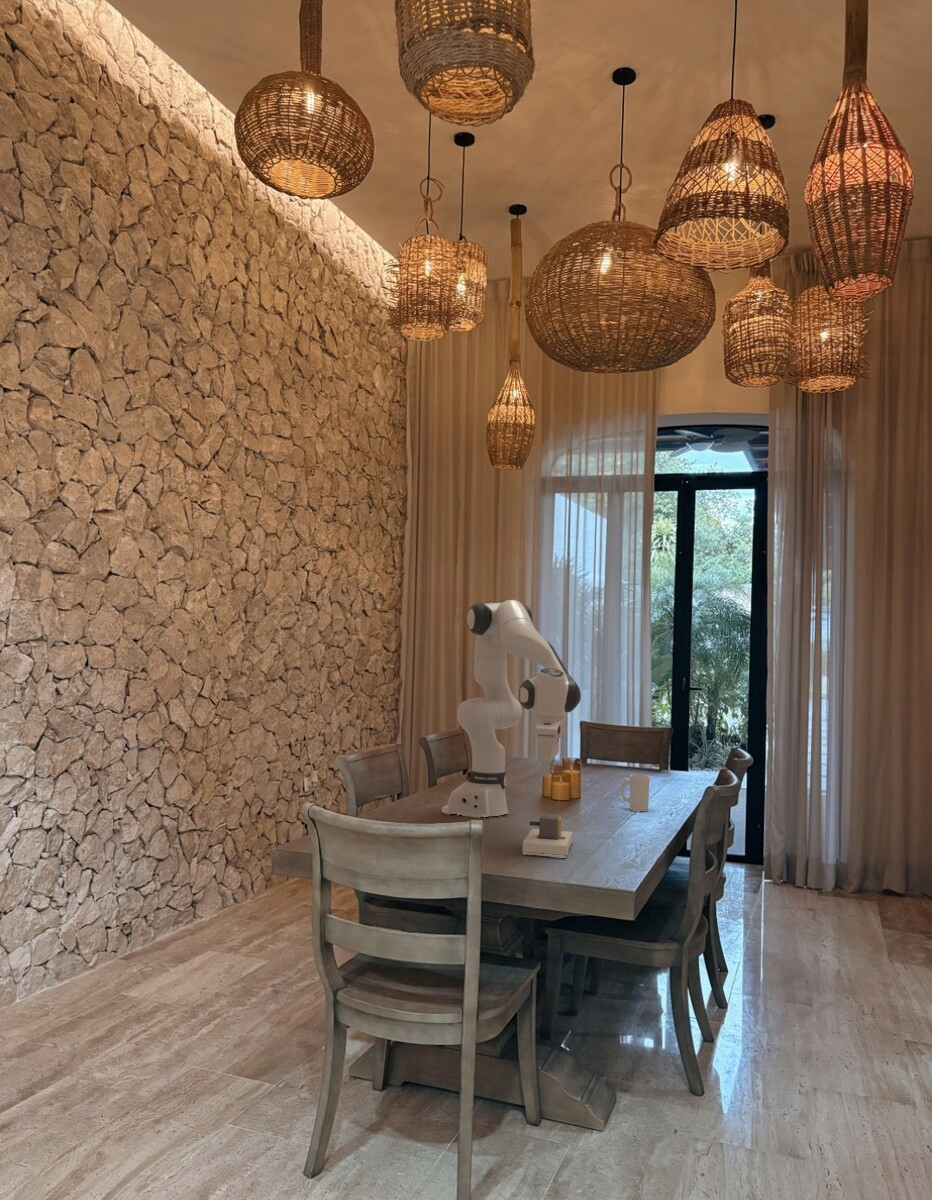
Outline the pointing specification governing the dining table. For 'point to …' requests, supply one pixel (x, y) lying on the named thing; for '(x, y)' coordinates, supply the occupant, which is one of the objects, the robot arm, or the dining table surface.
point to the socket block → (547, 843)
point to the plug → (549, 827)
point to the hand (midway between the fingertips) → (548, 773)
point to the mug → (637, 792)
